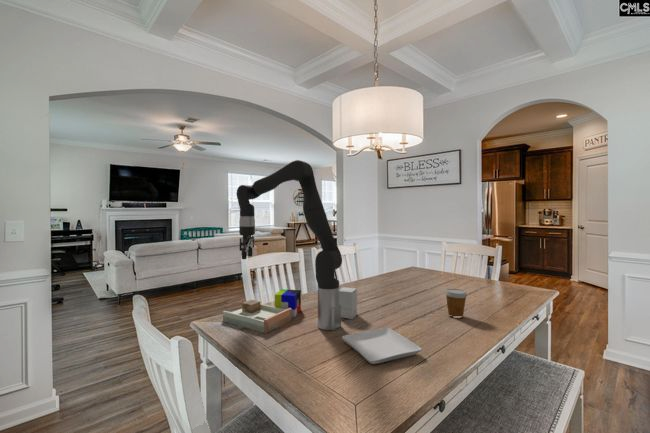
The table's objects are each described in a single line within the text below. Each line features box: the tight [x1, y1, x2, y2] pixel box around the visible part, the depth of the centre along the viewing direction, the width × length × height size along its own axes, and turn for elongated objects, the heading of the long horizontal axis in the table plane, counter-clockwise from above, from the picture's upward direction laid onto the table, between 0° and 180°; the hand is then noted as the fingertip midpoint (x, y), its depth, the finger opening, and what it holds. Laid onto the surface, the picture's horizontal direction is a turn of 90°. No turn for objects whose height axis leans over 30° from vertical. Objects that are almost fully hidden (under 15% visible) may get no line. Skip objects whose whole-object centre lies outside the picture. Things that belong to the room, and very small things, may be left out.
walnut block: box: [241, 299, 261, 313], centre depth 145 cm, size 6×6×4 cm
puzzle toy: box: [274, 288, 302, 318], centre depth 150 cm, size 10×10×10 cm
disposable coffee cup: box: [445, 288, 468, 317], centre depth 144 cm, size 10×10×12 cm
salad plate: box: [341, 326, 422, 365], centre depth 110 cm, size 21×21×3 cm
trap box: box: [222, 303, 293, 334], centre depth 139 cm, size 26×17×6 cm, turn 59°
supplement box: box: [339, 286, 358, 320], centre depth 145 cm, size 7×7×13 cm
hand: (247, 257), depth 153 cm, fingers open, 8 cm apart
